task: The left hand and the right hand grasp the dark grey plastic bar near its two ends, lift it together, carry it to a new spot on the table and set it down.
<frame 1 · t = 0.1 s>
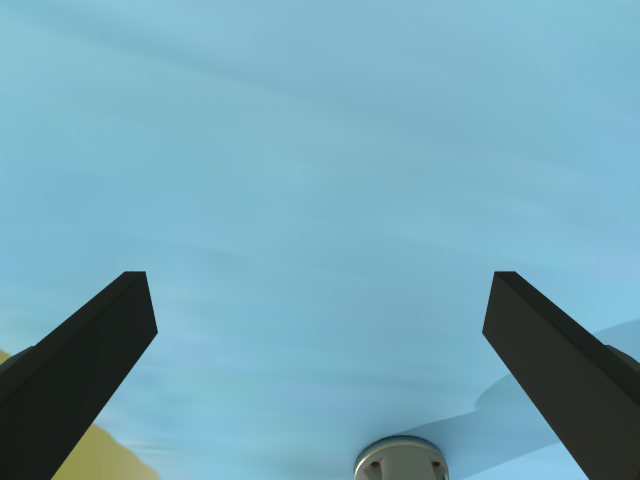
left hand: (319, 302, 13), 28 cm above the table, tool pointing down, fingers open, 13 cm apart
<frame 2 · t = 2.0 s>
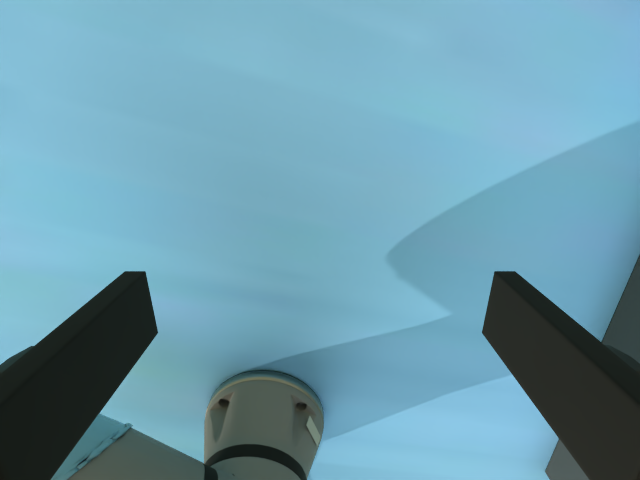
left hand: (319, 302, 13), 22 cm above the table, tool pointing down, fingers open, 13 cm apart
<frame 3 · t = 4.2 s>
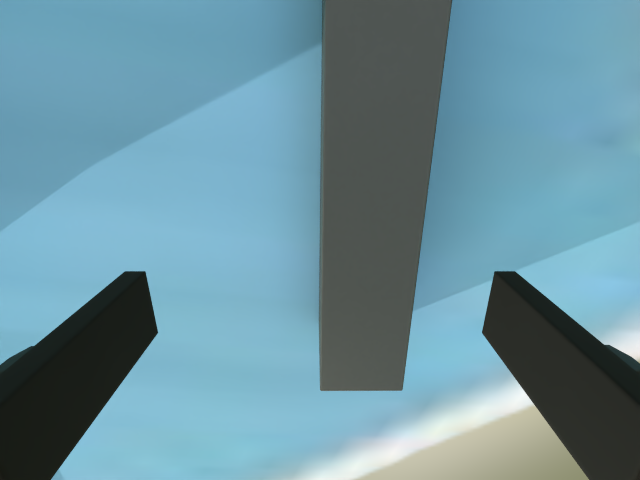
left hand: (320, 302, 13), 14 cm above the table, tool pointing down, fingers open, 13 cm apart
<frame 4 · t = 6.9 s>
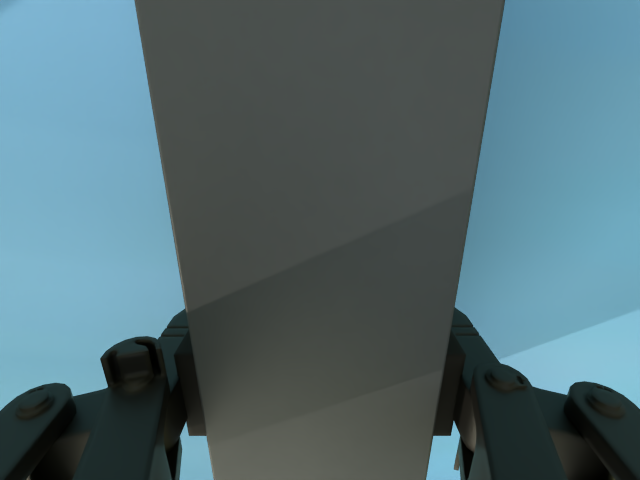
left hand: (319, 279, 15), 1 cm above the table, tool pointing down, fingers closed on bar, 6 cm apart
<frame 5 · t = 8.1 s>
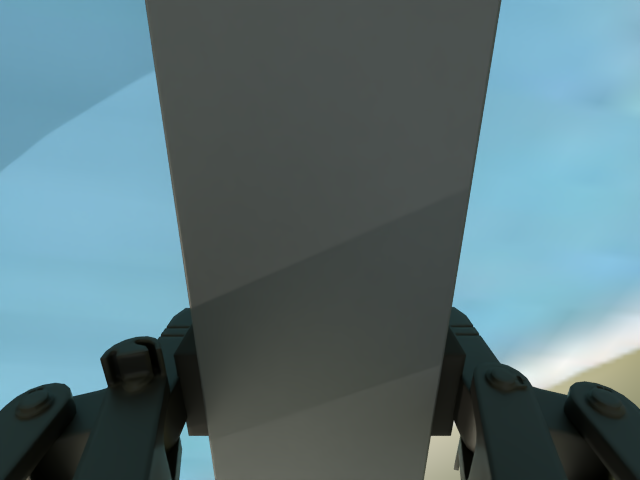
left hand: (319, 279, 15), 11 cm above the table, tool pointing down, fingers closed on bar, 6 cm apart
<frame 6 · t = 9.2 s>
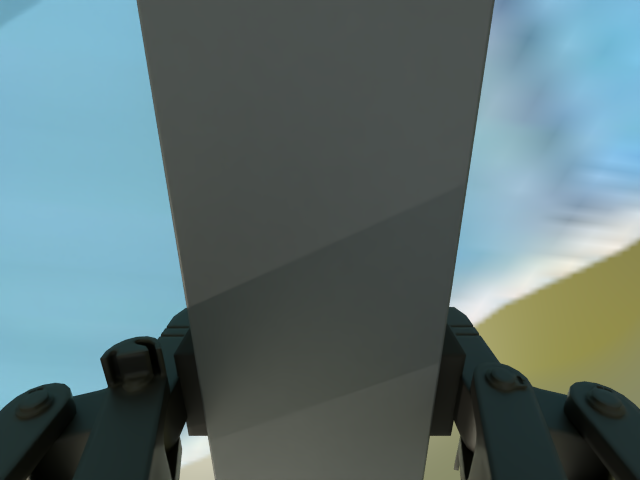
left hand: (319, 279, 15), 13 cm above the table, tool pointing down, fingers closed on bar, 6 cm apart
when the left hand's fingers open (2 cm above the table, at t = 11.8 s): bar drops 1 cm, on the table.
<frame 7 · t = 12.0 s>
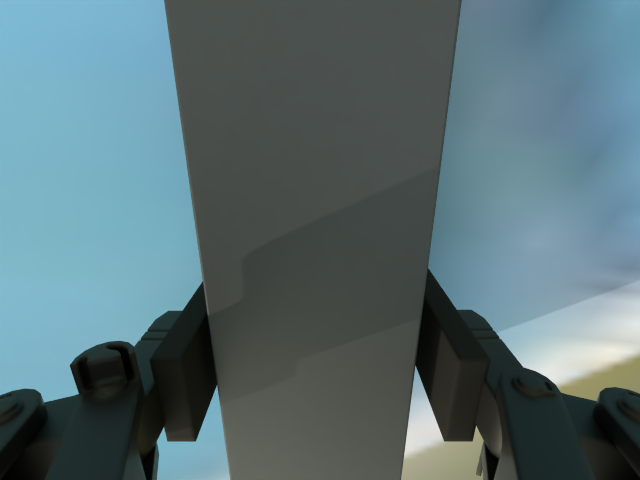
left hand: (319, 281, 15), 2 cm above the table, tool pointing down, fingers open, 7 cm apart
when the right hand's fingers open (4 cm above the table, at t = 12.0 s): bar stays where it is, on the table.
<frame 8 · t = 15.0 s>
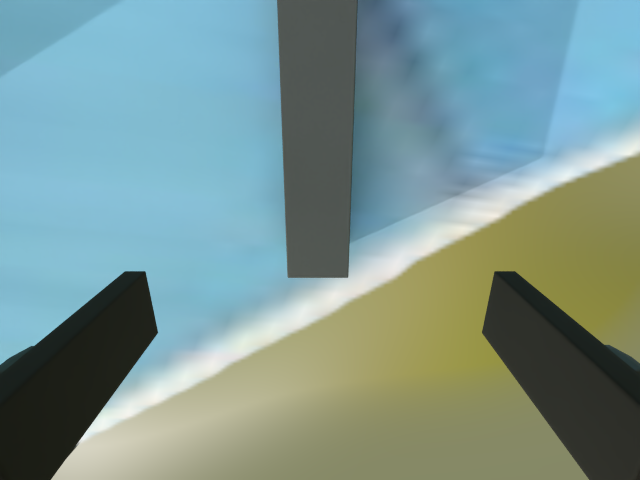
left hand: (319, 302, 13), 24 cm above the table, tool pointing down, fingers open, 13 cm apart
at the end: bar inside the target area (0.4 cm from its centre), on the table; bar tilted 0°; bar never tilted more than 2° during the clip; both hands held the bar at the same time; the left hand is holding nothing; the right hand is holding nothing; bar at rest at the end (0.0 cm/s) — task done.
